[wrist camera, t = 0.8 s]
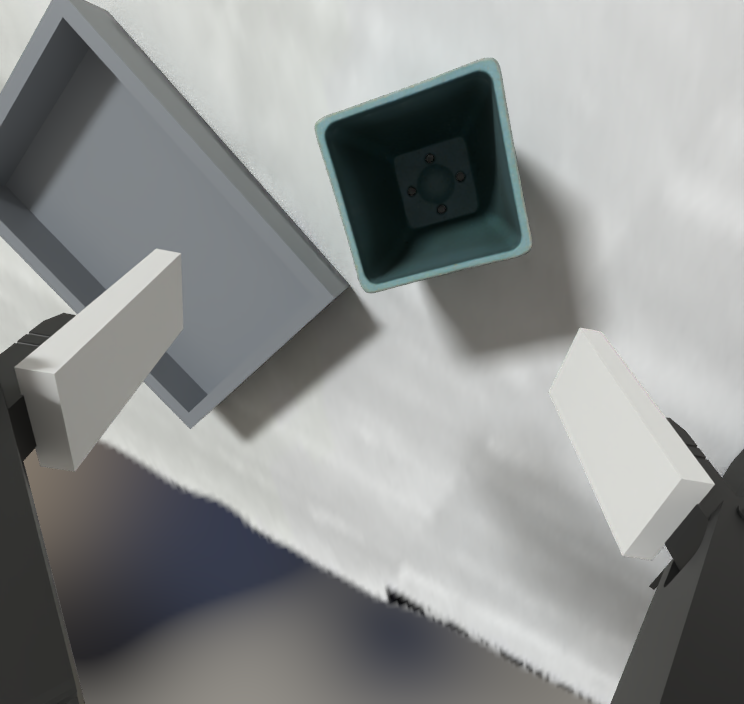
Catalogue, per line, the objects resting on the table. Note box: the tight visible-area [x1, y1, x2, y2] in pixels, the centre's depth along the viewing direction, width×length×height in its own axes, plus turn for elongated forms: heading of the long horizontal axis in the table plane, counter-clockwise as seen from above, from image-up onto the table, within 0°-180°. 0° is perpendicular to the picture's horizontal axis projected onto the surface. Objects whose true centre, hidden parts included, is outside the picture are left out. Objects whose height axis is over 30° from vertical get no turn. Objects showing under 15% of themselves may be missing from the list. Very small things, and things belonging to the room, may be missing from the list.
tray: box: [0, 0, 350, 429], centre depth 34 cm, size 24×16×4 cm, turn 43°
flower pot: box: [315, 58, 532, 293], centre depth 27 cm, size 9×9×9 cm
